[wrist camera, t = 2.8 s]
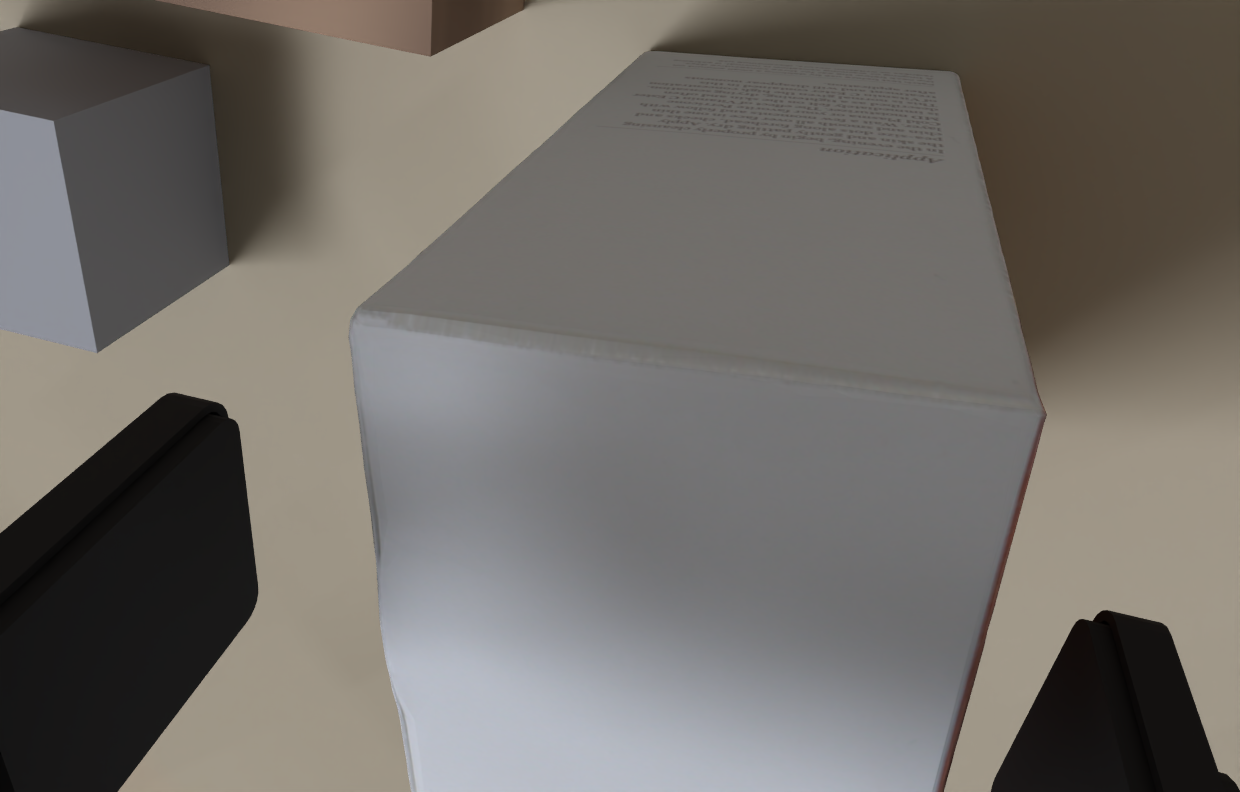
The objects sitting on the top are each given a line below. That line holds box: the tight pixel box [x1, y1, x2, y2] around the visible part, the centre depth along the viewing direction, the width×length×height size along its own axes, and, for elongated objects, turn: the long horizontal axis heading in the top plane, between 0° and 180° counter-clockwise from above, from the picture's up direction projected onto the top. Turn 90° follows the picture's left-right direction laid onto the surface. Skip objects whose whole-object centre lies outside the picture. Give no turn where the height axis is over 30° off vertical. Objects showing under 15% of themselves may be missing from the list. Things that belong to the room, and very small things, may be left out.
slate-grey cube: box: [0, 27, 229, 353], centre depth 22 cm, size 5×5×5 cm
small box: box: [349, 51, 1047, 792], centre depth 16 cm, size 8×6×13 cm
